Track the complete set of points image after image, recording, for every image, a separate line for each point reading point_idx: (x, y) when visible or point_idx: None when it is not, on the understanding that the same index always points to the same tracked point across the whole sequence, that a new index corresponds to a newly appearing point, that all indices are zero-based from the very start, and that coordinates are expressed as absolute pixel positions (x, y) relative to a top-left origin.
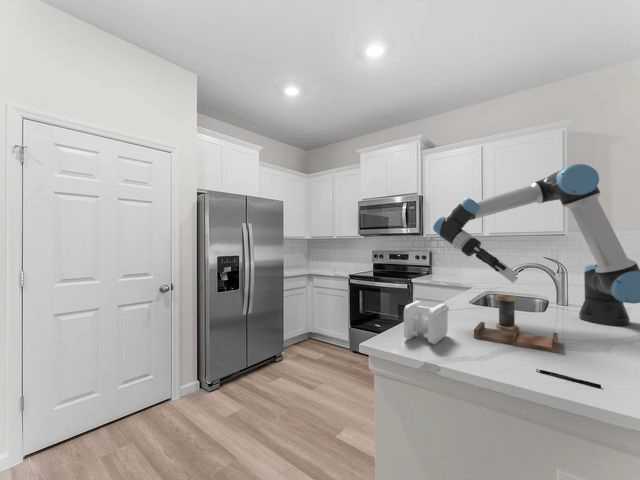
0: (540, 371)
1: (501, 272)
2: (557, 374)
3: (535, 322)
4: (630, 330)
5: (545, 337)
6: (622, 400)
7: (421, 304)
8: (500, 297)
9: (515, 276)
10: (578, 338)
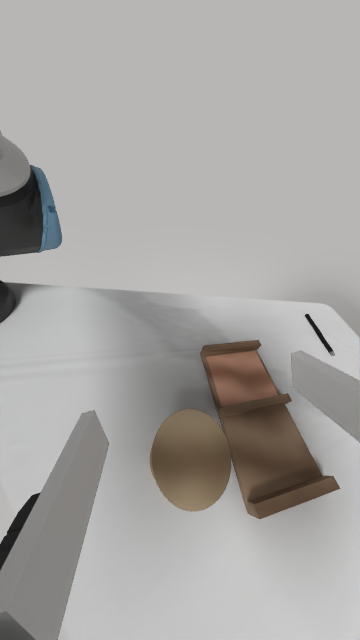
0: (331, 351)
1: (61, 584)
2: (323, 338)
3: (55, 415)
4: (46, 287)
5: (212, 364)
6: (311, 306)
7: None
8: (230, 466)
9: (90, 425)
10: (153, 334)
